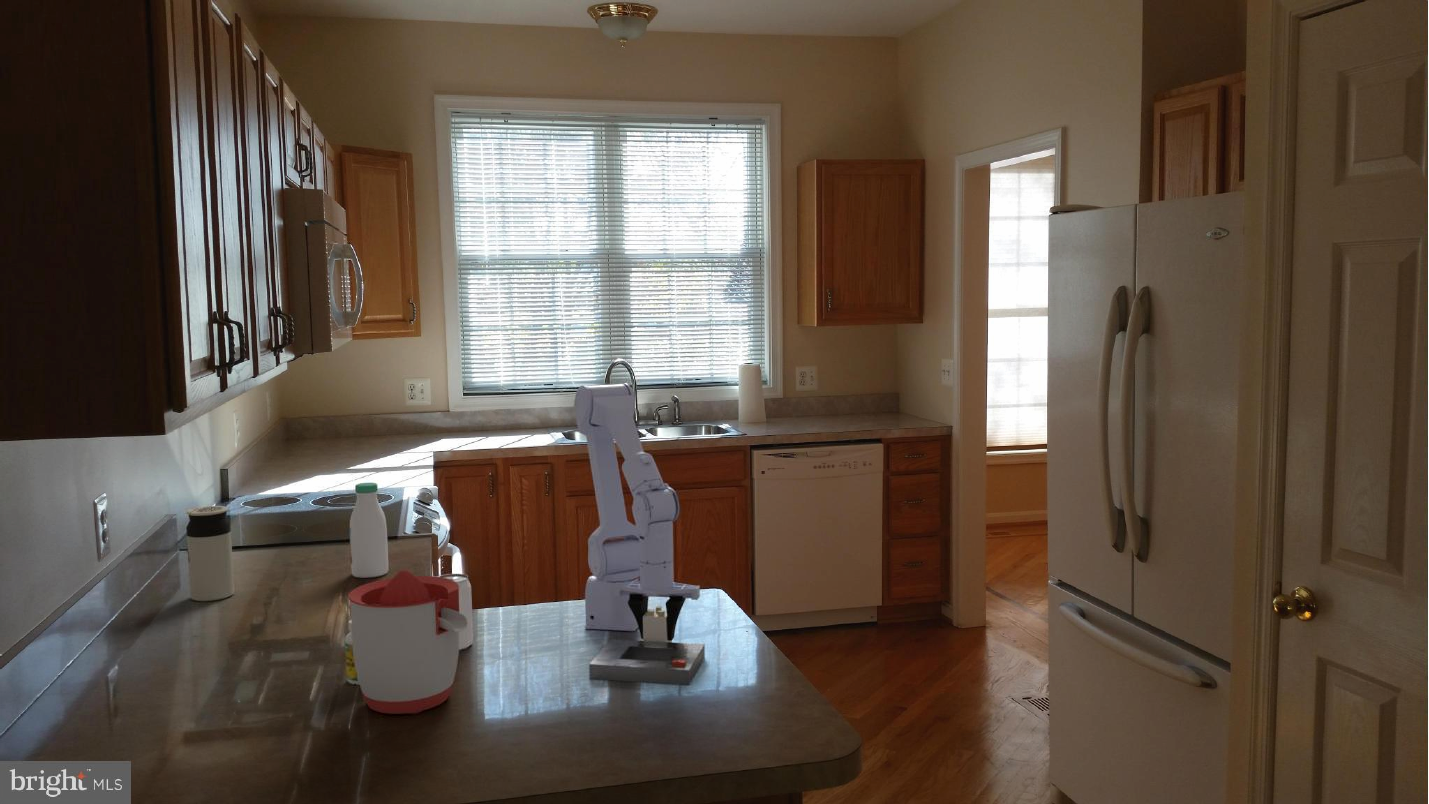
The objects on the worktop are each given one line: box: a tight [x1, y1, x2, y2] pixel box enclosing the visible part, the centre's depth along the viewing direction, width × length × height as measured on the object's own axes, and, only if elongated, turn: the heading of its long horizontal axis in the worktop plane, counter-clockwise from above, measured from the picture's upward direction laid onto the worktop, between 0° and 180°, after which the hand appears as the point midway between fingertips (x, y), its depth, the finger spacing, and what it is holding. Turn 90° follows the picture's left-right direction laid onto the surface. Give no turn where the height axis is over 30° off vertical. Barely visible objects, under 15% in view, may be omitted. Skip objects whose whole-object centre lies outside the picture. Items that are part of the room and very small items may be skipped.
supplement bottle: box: [344, 619, 360, 686], centre depth 160 cm, size 5×5×10 cm
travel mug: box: [185, 505, 235, 602], centre depth 207 cm, size 8×8×18 cm
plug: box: [642, 605, 673, 642], centre depth 174 cm, size 4×4×7 cm
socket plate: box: [588, 638, 706, 686], centre depth 164 cm, size 16×12×3 cm
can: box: [437, 573, 474, 651], centre depth 176 cm, size 6×6×12 cm
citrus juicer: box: [348, 569, 467, 715], centre depth 151 cm, size 16×17×20 cm
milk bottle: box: [349, 482, 389, 579], centre depth 223 cm, size 8×8×20 cm
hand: (657, 638), depth 174 cm, fingers closed on plug, 4 cm apart
